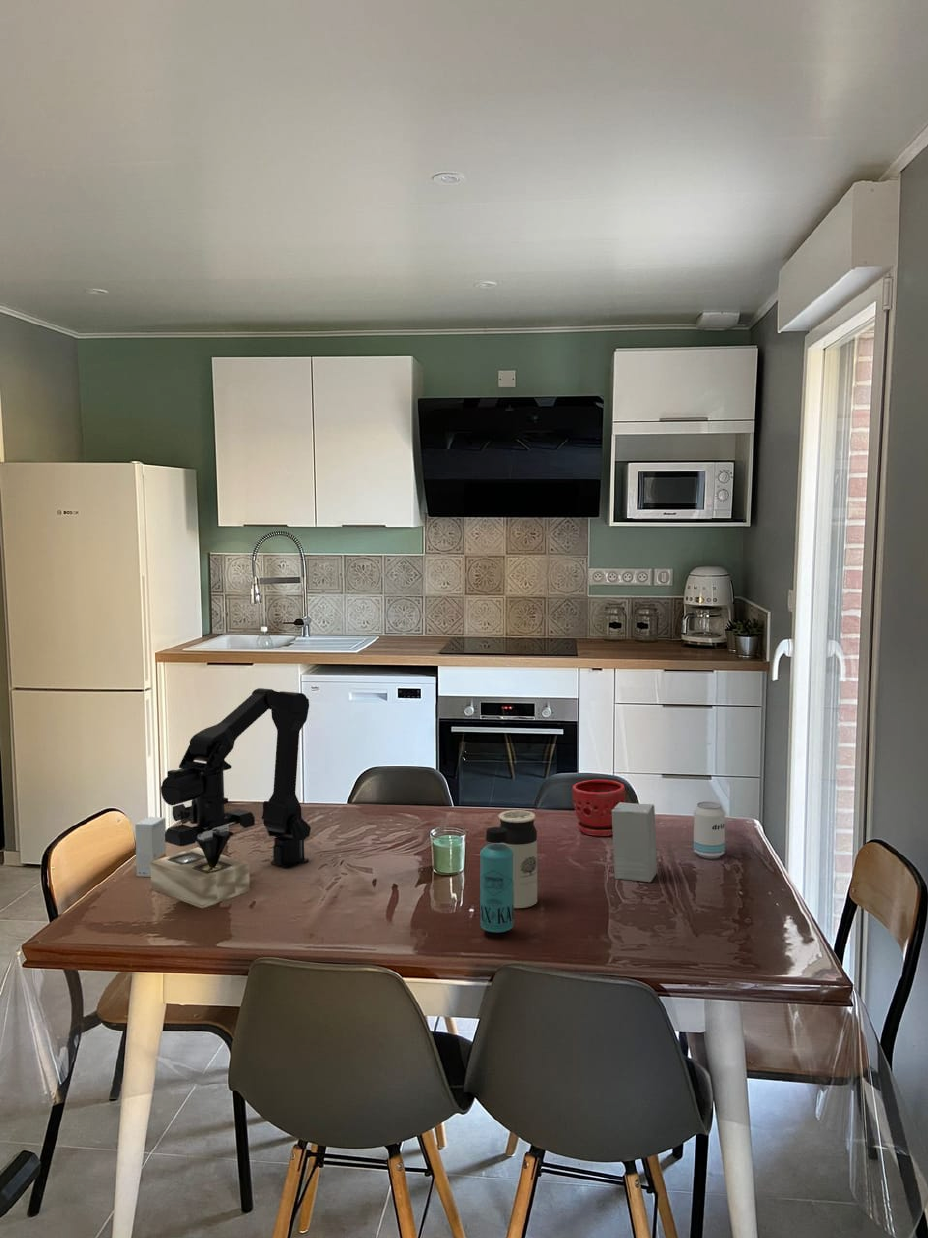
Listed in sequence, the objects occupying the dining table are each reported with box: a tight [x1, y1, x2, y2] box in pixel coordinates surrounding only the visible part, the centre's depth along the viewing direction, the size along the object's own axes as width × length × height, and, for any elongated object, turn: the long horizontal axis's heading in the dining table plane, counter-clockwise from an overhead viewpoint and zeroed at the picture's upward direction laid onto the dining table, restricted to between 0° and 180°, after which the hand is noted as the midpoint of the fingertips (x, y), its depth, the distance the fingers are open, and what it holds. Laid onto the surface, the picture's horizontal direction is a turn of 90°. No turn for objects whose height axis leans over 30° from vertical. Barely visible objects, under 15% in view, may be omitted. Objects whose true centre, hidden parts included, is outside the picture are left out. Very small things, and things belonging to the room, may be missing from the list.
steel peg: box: [177, 856, 197, 863], centre depth 199 cm, size 4×4×5 cm
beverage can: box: [693, 801, 726, 860], centre depth 214 cm, size 7×7×12 cm
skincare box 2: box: [612, 802, 658, 883], centre depth 201 cm, size 8×7×16 cm
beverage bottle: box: [478, 826, 515, 933], centre depth 172 cm, size 6×7×20 cm
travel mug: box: [497, 809, 538, 909], centre depth 187 cm, size 8×8×18 cm
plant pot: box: [572, 779, 626, 837], centre depth 234 cm, size 13×13×12 cm
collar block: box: [150, 846, 251, 909], centre depth 197 cm, size 12×18×6 cm, turn 51°
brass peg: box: [202, 864, 222, 872], centre depth 194 cm, size 4×4×5 cm
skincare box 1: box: [134, 816, 167, 878], centre depth 208 cm, size 6×4×12 cm
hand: (212, 867), depth 194 cm, fingers closed, pressing on brass peg
